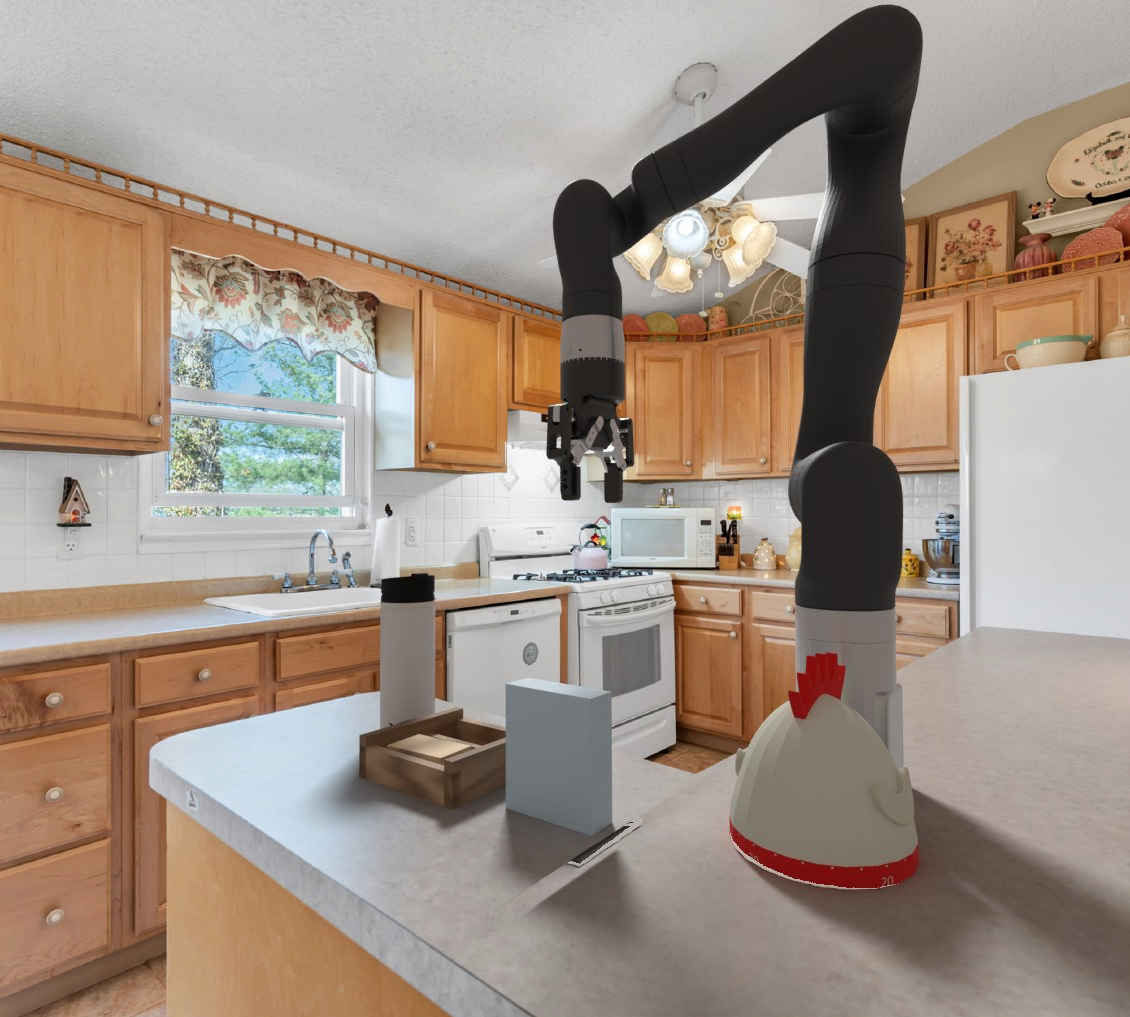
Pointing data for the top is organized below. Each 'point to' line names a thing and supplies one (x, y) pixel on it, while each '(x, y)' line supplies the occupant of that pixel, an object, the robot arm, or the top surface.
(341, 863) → the top surface
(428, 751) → the offcut upper
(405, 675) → the travel mug
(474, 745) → the rack
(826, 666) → the kitchen timer
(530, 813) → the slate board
